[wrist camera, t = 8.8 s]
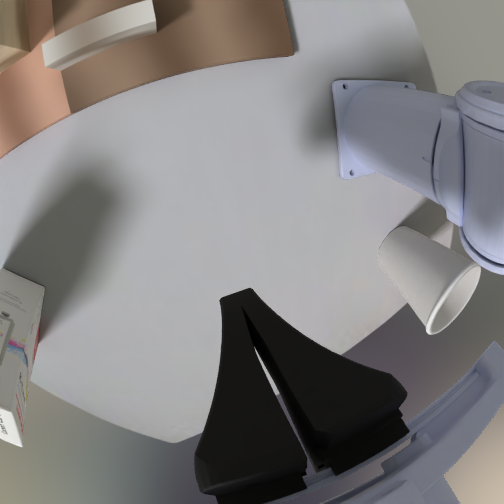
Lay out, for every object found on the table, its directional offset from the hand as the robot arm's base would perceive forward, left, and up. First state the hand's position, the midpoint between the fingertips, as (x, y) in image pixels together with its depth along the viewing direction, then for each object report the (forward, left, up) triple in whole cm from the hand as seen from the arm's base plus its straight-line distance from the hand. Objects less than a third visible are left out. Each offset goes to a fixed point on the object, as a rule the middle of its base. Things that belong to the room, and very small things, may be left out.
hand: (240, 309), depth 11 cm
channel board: (+3, -18, -9) cm, 20 cm away
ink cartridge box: (+19, +2, -10) cm, 21 cm away
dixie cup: (-19, +10, -10) cm, 24 cm away
